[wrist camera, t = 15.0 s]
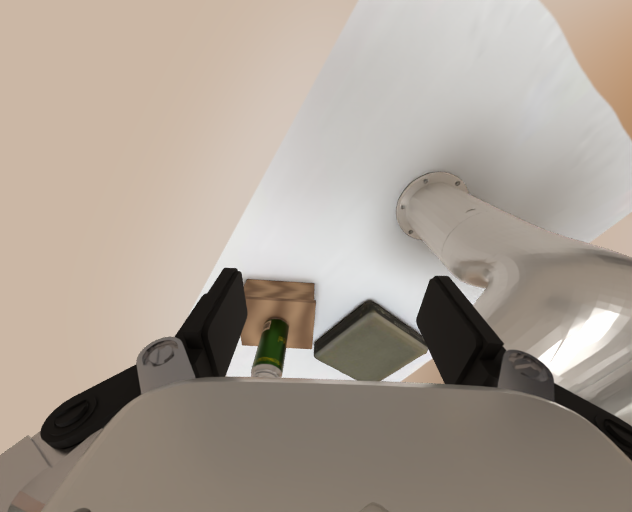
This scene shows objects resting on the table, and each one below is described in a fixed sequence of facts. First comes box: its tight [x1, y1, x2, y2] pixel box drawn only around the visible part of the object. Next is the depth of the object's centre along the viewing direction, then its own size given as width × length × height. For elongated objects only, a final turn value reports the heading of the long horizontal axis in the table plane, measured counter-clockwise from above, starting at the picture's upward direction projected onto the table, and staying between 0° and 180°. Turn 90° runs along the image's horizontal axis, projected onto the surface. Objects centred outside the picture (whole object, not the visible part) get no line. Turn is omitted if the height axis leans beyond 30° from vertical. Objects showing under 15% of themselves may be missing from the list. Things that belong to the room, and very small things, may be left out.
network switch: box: [314, 302, 428, 381], centre depth 60 cm, size 23×23×5 cm
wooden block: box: [241, 279, 316, 349], centre depth 53 cm, size 16×14×7 cm
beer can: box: [251, 317, 289, 378], centre depth 44 cm, size 5×5×12 cm
